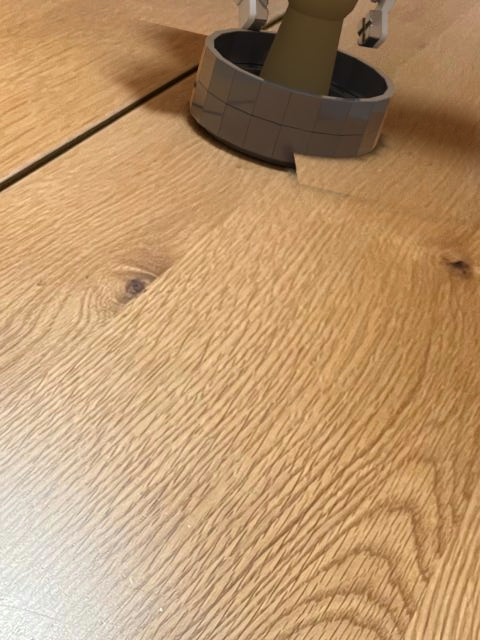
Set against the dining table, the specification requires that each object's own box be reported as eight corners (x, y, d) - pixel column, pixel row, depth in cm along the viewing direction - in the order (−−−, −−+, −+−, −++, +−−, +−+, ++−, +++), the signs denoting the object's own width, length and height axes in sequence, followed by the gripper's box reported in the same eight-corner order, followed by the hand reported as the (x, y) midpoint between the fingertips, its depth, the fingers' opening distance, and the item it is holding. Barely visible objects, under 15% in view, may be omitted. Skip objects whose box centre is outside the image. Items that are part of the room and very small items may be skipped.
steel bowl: (359, 126, 101) (383, 55, 97) (378, 192, 91) (406, 117, 88) (186, 86, 100) (204, 14, 97) (187, 149, 91) (208, 71, 87)
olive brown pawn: (312, 151, 93) (369, -23, 85) (234, 127, 94) (284, -48, 86) (324, 128, 97) (380, -40, 89) (249, 105, 98) (298, -64, 90)
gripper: (195, -231, 84) (197, -12, 85) (465, -177, 89) (463, 28, 90) (159, -163, 90) (161, 40, 91) (413, -116, 95) (412, 75, 96)
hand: (313, 35), depth 90 cm, fingers open, 8 cm apart
